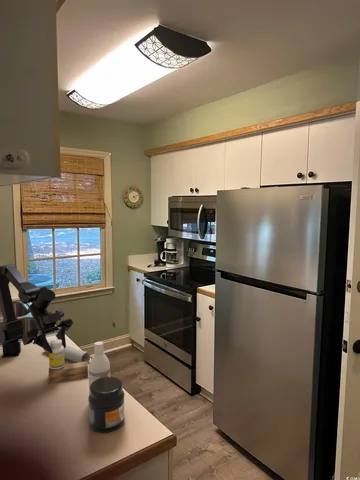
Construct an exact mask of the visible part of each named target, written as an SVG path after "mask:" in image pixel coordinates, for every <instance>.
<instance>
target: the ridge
mask: <svg viewBox="0 0 360 480" xmlns="http://www.w3.org/2000/svg"><path fill="white" fill-rule="evenodd" d="M86 378H89V362H88V363H87V361H86V362H79V363H76V362H73V363H67V364H66V363H65V365H64V366H63V367H62V368H59V369H51V368H50V366H49V367H48V384H53V383H60V382H65V381H72V380H79V379H80V380H81V379H86Z"/></svg>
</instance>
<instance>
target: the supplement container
mask: <svg viewBox="0 0 360 480" xmlns="http://www.w3.org/2000/svg"><path fill="white" fill-rule="evenodd" d="M123 385H124V384H123V381H122V379H120V378H119V377H116V376H115V377H114V376H110V377H103V378H99V379H97V380H95V381H94V382H93V383H92V384H91V385H90V395H88V399H87V400H88V417H89V419H88V423H89V426H90V428H91V429H92V430H93V431H96V432H99V433H108V432H109V433H110V432H112V431H115V430H117V429H118V428H120V427H121V426H122V425H123V423H124V421H125V419H126V418H125V392H124V388H123Z"/></svg>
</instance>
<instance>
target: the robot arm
mask: <svg viewBox="0 0 360 480" xmlns="http://www.w3.org/2000/svg"><path fill="white" fill-rule="evenodd" d="M10 283H11V284H12V285H13V286H14V288H15V289H16V290H17V292H18V295H17V296H18V298H19V300H20V302H21V304H23V305H27V304H29V305H28V308H27V310H26V312H27V313H28V314H29V313H30V314H31V316H32V319H33V320H34V322H33V325H34V326H36V327H37V328H34V329H31V330H28V331H26V332H25V328H24V326H23V321H22V320H21V319H19V318H18V317H17V316H16V312H15V308H14V303H13V299H12V294H11V290H10ZM55 298H56V293H55V291H53V290H52V289H50V288H47V287H46V286H41V287H38V286H37V285H36V284H34V283H31V282H29V281H28V280H27V279H26V278H25V276H24V275H23V274H22V273H21V272H20V271H19V270H18V268H17V266H16V264H13V263H10V264H3V265H0V310H1V315H2V322H1V325H0V344H1V347H2V356H1V358H2V359H5V358H12V357H18V356H19V355H20V353H21V352H22V343H23V346H27V345H30V344H32V345H36V346H39V347H40V348H41V349H43V350H44V349H45V350H46V351H48V352H49V353H50V354H51V353H52V349H51V347H50V345H49V343H48V342H49V341H48V339H47V335H48V334H51V333H53V332H56V334H55V338H56V339H60V340H62V345H63V346H64V348H66V346H67V344H66V332H68V331H69V330H70V329H71V327H72V326H73V325H74V321H73V319H72V318H70V317H68V318H66V319H63V320H62V318H64V316H65V313H64V311H63V309H62V308H60V309H57V310H55V312H54V313H52V311H50V312H49V311H48V308H49V307H50V306H51V304H52V302H53V301H54V300H55ZM58 321H60V323H58ZM24 333H25V334H24ZM20 340H21V341H22V343H21V341H20ZM49 353H48V354H49Z"/></svg>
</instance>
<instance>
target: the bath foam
mask: <svg viewBox="0 0 360 480" xmlns="http://www.w3.org/2000/svg"><path fill="white" fill-rule="evenodd" d="M93 345H94V349H93V350H94V351H93V352H94V354H93V356H92V357H91V358H90V360H89V362H88V393H89V395H90V385H91V384H92V383H93V382H94V381H95V380H97V379H99V378H103V377H111V363H110V360H109V358H108V357H107V355H106V354H105V351H104V341H96V342H94V344H93ZM89 395H88V396H89Z"/></svg>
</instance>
